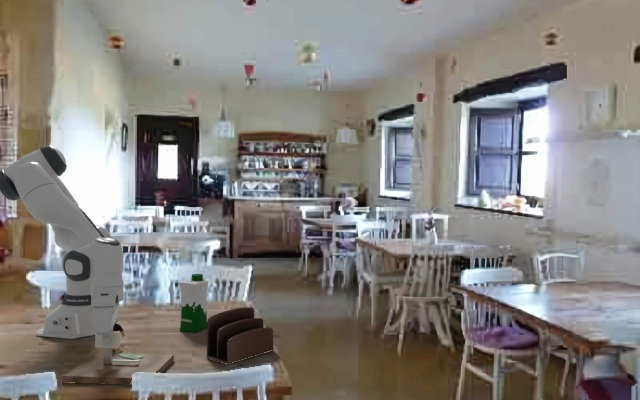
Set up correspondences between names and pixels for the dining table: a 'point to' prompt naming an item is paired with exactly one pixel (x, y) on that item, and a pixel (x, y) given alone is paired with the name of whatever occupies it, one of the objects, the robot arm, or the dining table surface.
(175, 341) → the dining table surface
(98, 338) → the grey piece
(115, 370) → the wooden cutting board
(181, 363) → the dining table surface
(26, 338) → the dining table surface
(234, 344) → the letter holder
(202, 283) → the milk carton
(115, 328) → the grandmother figurine
